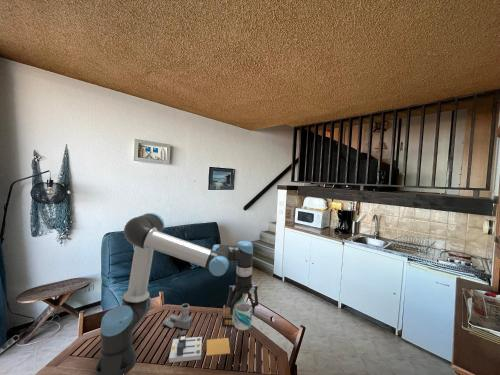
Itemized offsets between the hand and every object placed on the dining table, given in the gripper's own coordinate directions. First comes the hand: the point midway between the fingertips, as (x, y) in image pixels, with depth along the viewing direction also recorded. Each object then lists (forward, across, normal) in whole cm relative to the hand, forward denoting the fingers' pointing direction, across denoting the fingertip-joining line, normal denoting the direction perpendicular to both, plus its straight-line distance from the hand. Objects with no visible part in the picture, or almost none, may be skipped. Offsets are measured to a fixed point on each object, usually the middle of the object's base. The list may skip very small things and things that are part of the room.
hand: (241, 320), depth 109 cm
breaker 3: (+13, -28, -2) cm, 31 cm away
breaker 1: (+13, -28, +6) cm, 32 cm away
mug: (+1, +1, 0) cm, 1 cm away
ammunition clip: (+15, -3, +18) cm, 24 cm away
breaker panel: (+15, -26, +2) cm, 30 cm away
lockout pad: (+15, -11, +3) cm, 19 cm away
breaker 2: (+13, -28, +2) cm, 30 cm away
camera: (+15, -32, +23) cm, 42 cm away
